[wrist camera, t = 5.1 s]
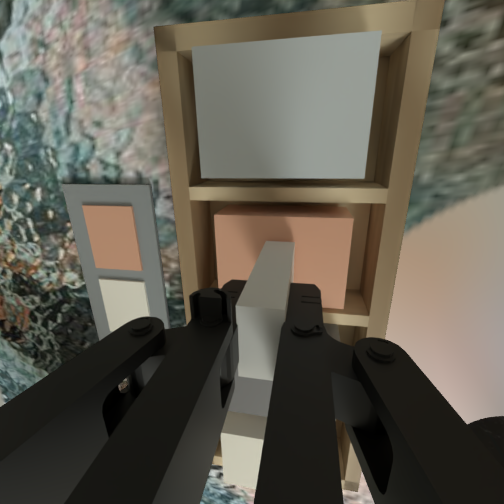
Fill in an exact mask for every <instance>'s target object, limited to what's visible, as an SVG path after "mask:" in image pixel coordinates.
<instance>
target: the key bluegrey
mask: <svg viewBox="0 0 504 504" xmlns="http://www.w3.org/2000/svg"><path fill="white" fill-rule="evenodd" d="M381 34H382V30H380V31H368V32H356V33H345V34H333V35H322V36H310V37H299V38H287V39H275V40H264V41H252V42H241V43H229V44H218V45H206V46H194V47H192V60H193V74H194V87H195V101H196V114H197V127H198V141H199V154H200V167H201V178H315V179H364V177H365V169H366V161H367V152H368V144H369V135H370V127H371V118H372V110H373V102H374V93H375V85H376V76H377V68H378V59H379V51H380V43H381Z"/></svg>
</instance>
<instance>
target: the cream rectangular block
mask: <svg viewBox="0 0 504 504" xmlns="http://www.w3.org/2000/svg"><path fill="white" fill-rule="evenodd" d="M266 422H267V417H264V416H258V415H252V414H245V413H239V412H232V411H228V412H227V416H226V419H225V422H224V425H223V429H222V432H221V448H222V462H223V475H224V483H226V484H231V485H236V486H241V487H246V488H251V489H255V490H256V486H257V479H258V473H259V466H260V460H261V454H262V447H263V441H264V435H265V428H266Z"/></svg>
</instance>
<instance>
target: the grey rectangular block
mask: <svg viewBox="0 0 504 504" xmlns="http://www.w3.org/2000/svg"><path fill="white" fill-rule="evenodd" d="M323 324H324V326H325V329H326V331H327V334H329V335H330V336H331V337H332V338H334V339H335V340H337V341H339V342H340V336H339V330H338V324H330V323H323ZM272 384H273V381H270V380H263V379H255V378H248V377H240V376H238V366H237V369H236V372H235V389H234V393H233V396H232V399H231V403H230V406H229V409H228V411H232V412H239V413H245V414H252V415H258V416H264V417H267V416H268V409H269V403H270V397H271V390H272ZM335 421H336V419H335Z"/></svg>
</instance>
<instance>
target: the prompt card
mask: <svg viewBox="0 0 504 504" xmlns="http://www.w3.org/2000/svg"><path fill="white" fill-rule="evenodd" d="M62 188H63V192H64V196H65V200H66V204H67V208H68V213H69V217H70V221H71V225H72V229H73V233H74V237H75V242H76V246H77V250H78V254H79V258H80V262H81V266H82V270H83V275H84V279H85V283H86V287H87V291H88V295H89V299H90V303H91V308H92V312H93V316H94V320H95V324H96V328H97V332H98V336H99V341H100V340H101V339H103V338H104V337H106V336H107V335H109V334H110V333H112V332H113V331H115V330H116V329H118V328H119V327H121V326H122V325H124V324H125V323H127V322H129V321H131V320H133V319H137V318H139V317H145V316H151V317H157V318H159V319H161V320H162V321H163V323H164V327H165V329H170V328H171V327H170V320H169V313H168V305H167V298H166V290H165V283H164V276H163V268H162V261H161V254H160V246H159V239H158V231H157V224H156V217H155V209H154V202H153V194H152V187H151V184H62Z"/></svg>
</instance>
